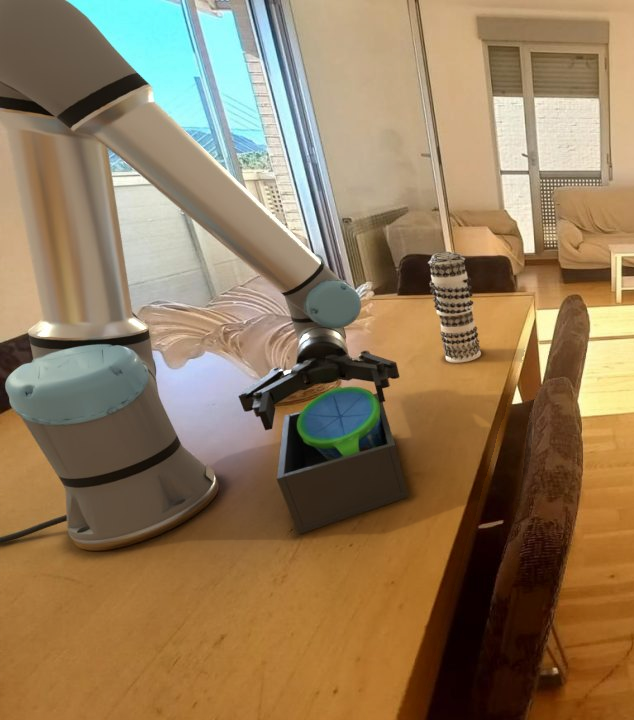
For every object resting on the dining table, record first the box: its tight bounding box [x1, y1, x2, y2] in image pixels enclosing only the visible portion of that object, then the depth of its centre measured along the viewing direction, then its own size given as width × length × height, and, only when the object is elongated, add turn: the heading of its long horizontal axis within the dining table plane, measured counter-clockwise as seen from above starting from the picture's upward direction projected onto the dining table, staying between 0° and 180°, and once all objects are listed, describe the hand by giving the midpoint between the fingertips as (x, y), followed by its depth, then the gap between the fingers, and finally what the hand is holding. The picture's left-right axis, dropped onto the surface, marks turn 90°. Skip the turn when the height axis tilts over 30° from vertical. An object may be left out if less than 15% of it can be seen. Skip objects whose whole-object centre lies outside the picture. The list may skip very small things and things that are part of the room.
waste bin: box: [276, 392, 409, 535], centre depth 71 cm, size 14×19×9 cm
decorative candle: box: [427, 251, 482, 364], centre depth 111 cm, size 9×9×25 cm
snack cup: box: [297, 386, 385, 461], centre depth 71 cm, size 16×10×10 cm
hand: (325, 406), depth 64 cm, fingers open, 13 cm apart
